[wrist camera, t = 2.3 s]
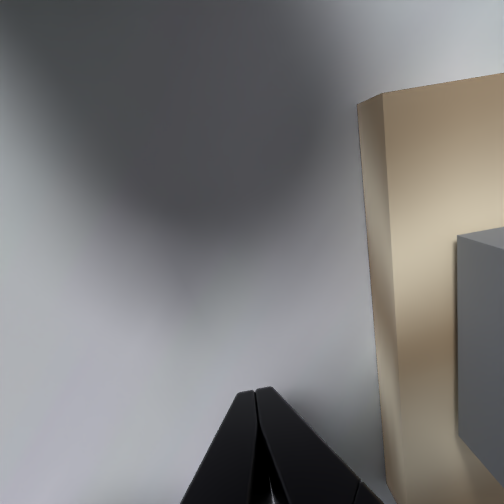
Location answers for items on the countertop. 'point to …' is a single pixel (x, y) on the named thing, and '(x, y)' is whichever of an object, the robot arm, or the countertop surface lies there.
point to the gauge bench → (428, 271)
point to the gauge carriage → (481, 346)
